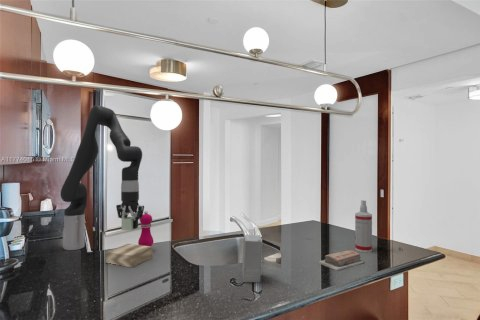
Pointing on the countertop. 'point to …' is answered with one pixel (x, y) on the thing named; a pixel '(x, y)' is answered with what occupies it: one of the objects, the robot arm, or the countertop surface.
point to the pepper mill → (146, 230)
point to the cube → (127, 223)
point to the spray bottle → (363, 229)
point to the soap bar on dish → (342, 260)
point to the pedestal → (129, 255)
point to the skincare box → (252, 258)
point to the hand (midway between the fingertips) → (130, 227)
